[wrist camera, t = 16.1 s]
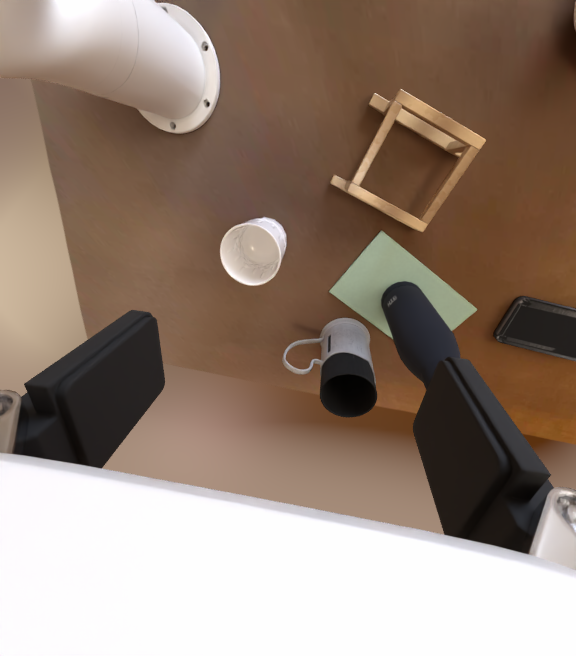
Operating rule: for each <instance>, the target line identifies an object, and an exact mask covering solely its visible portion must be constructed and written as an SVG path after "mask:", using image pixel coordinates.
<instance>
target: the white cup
mask: <svg viewBox="0 0 576 656" xmlns="http://www.w3.org/2000/svg"><path fill="white" fill-rule="evenodd" d="M286 246H287V236H286V233H285V231H284V229H283V227H282V226H281V225H280V224H279V223H278V222H277V221H275V220H274V219H270V218H266V217H262V218H258V219H253V220H249V221H247V222H244V223H242V224H239V225H237V226H235V227H233V228H231V229H230V230H229V231H228V232H227V233H226V234H225V236H224V237H223V239H222V242H221V246H220V257H221V261H222V264H223V266H224V268H225V270H226V271H227V273H228V274H229V275H230V276H231V277H232V278H233V279H235V280H236V281H238V282H240V283H242V284H245V285H251V286H256V285H261V284H264V283H266V282H268V281H270V280H271V279H272V278H273V277H274V276H275V275H276V273H277V271H278V269H279V267H280V264H281V262H282V259H283V256H284V253H285V249H286Z"/></svg>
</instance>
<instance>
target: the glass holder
mask: <svg viewBox="0 0 576 656" xmlns="http://www.w3.org/2000/svg"><path fill="white" fill-rule="evenodd" d="M319 342H320V344H321V347H322V351H321V360H318V359H313V360H312V361H311V363H310V366H309V368H308V369H305V370H300V369H297V368H294V367H293V366H291V365H290V364H289V363H288V362H287V361H286V354H287V352H288V351H289V350H290V349H291V348H293V347H294V346H297V345H300V344H307V343H319ZM369 343H370V335H369V332H368V330H367V328H366V327H365V326H364V325H363V324H362V323H361V322H359V321H357V320H355V319H351V318H339V319H336V320H333V321H331V322H329V323H328V324H327V325H326V326H325V327H324V328H323V330H322V332H321V334H320V338H319V339H307V340H299V341H296V342H294V343H292V344H291V345H289V346H288V347H287V348H286V350H285V352H284V355H283V364H284V366H285V367H286V368H287V369H288V370H290V371H292V372H294V373H296V374H307V373H309V372H310V371H311V369H312V367H313V363H316V364H319V365H321V366H320V376H321V385H320V399H321V402H322V404H323V405H324V407H325V408H326V409H327V410H328V411H330V412H331V413H333V414H335V415H338V416H341V417H356V416H360V415H363V414H365V413H367V412H368V411H370V410H371V409H372V408H373V407H374V405H375V403H376V400H377V391H376V379H375V374H374V369H373V364H372V359H371V354H370V349H369Z"/></svg>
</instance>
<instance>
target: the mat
mask: <svg viewBox="0 0 576 656" xmlns="http://www.w3.org/2000/svg"><path fill="white" fill-rule="evenodd" d="M402 281H407V282H412V283H414V284H416V285H417V286H418V287H419V288H420V289H421V290H422V292H423V293H424V294H425V296H426V297H427V298H428V300H429V301H430V302H431V304H432V305H433V307H434V308H435V309H436V311H437V312H438V313H439V315H440V316H441V317H442V319H443V320H444V321H445V323H446V324H447V326H448V327H449V328H450V330H451V331H452V330H454V329H455V328H456V327H457V326H458V325H460V324H461V323H462V322H463V321H464V320H466V319H467V318H468V317H469V316H471V315H472V314H473V313H474V312H475V311H477V309H476V308H475V307H474V306H473V305H472V304H470V303H469V302H468V301H467V300H466V299H464V298H463V297H462V296H461V295H459V294H458V293H457V292H456V291H455V290H453V289H452V288H451V287H450V286H449V285H447V284H446V283H445V282H444V281H442V280H441V279H440V278H439V277H438V276H436V275H435V274H434V273H433V272H432V271H430V270H429V269H428V268H427V267H425V266H424V265H423V264H422V263H421V262H419V261H418V260H417V259H416V258H415V257H413V256H412V255H411V254H410V253H408V252H407V251H406V250H405V249H404V248H402V247H401V246H400V245H399V244H398V243H396V242H395V241H394V240H393V239H391V238H390V237H389V236H388V235H387V234H385V233H384V232H383V231H382V230H381V231H380V232H379V234H378V235H377V236H376V237H375V238H374V239H373V241H372V242H371V243H370V244H369V245H368V246H367V248H366V249H365V250H364V251H363V252H362V253H361V255H360V256H359V257H358V258H357V259H356V260H355V262H354V263H353V264H352V265H351V266H350V267H349V268H348V270H347V271H346V272H345V273H344V274H343V275H342V277H341V278H340V279H339V280H338V281H337V282H336V284H335V285H334V286H333V287H332V288H331V289H330V291H329V292H330V293H331V294H333V295H334V296H336V297H337V298H338V299H340V300H341V301H342V302H344V303H345V304H346V305H348V306H349V307H350V308H352V309H353V310H354V311H356V312H357V313H358V314H360V315H361V316H362V317H364V318H365V319H366V320H368V321H369V322H370V323H372V324H373V325H374V326H376V327H377V328H379V329H380V330H381V331H383V332H384V333H385V334H387V335H388V336H389V337H391V338H392V339H393V337H392V334H391V331H390V329H389V326H388V323H387V320H386V317H385V315H384V312H383V309H382V306H381V298H382V295H383V293H384V292H385V290H386V289H387V288H388V287H389V286H391V285H392V284H395V283H397V282H402Z"/></svg>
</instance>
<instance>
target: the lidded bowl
mask: <svg viewBox="0 0 576 656" xmlns="http://www.w3.org/2000/svg"><path fill="white" fill-rule="evenodd" d="M574 27H575V31H576V2H575V8H574Z"/></svg>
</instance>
